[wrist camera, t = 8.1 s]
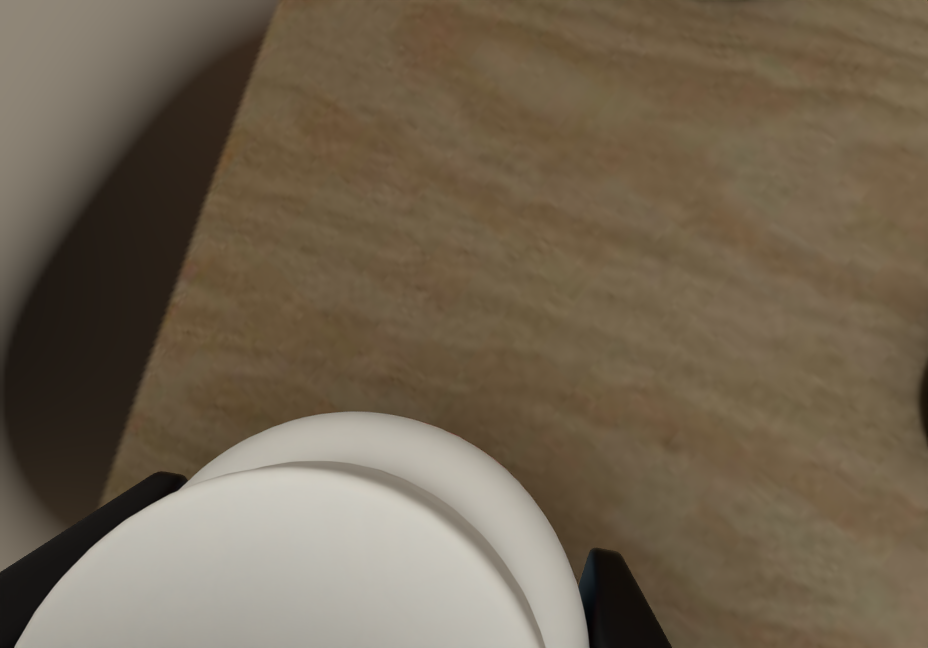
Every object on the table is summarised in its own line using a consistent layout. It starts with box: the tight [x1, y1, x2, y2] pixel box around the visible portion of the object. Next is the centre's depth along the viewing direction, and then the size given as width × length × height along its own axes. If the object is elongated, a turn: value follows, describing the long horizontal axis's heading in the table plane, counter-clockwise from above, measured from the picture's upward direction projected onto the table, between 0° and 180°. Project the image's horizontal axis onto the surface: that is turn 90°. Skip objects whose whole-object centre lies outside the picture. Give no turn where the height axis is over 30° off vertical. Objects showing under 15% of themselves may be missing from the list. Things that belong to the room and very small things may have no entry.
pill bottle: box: [14, 412, 589, 648], centre depth 10 cm, size 6×6×11 cm
